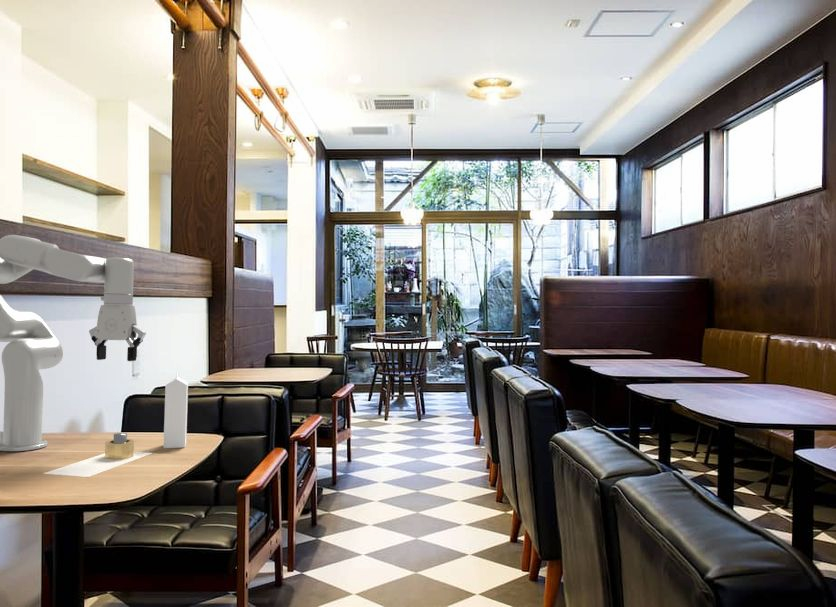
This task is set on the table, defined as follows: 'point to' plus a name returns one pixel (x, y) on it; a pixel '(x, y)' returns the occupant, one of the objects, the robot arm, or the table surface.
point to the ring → (119, 449)
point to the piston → (120, 438)
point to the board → (94, 465)
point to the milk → (175, 413)
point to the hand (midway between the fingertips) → (116, 360)
